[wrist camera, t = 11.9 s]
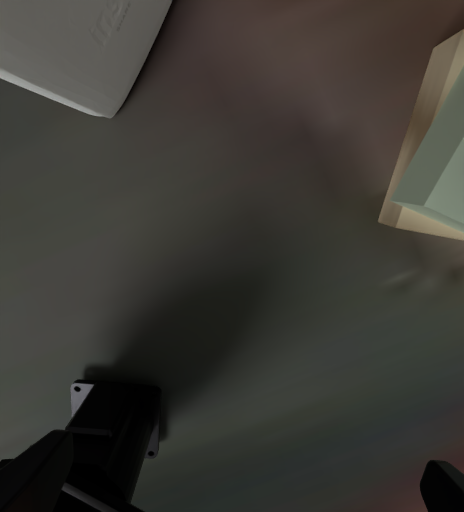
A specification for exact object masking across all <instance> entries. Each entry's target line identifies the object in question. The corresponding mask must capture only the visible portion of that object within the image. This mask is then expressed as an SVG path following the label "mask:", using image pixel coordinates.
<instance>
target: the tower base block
mask: <svg viewBox="0 0 464 512" xmlns="http://www.w3.org/2000/svg"><path fill="white" fill-rule="evenodd" d="M463 66H464V29H463V30H461V31H460V32H458V33H456V34H455V35H453V36H452V37H450V38H448V39H447V40H445V41H444V42H442V43H440V44H439V45H437V46H436V47H434V48H433V51H432V54H431V57H430V60H429V63H428V66H427V70H426V73H425V76H424V79H423V82H422V85H421V88H420V91H419V95H418V98H417V101H416V104H415V107H414V110H413V113H412V116H411V120H410V123H409V126H408V129H407V132H406V135H405V138H404V141H403V144H402V148H401V151H400V154H399V157H398V160H397V163H396V166H395V169H394V173H393V176H392V179H391V182H390V185H389V188H388V191H387V194H386V197H385V201H384V204H383V207H382V210H381V213H380V216H379V219H378V222H379V223H382V224H386V225H389V226H392V227H395V228H400V229H405V230H410V231H416V232H421V233H427V234H432V235H437V236H443V237H448V238H453V239H459V240H464V233H463V232H460V231H458V230H456V229H453V228H451V227H449V226H447V225H444V224H442V223H440V222H437V221H435V220H433V219H431V218H428V217H426V216H424V215H421V214H419V213H417V212H415V211H412V210H410V209H408V208H406V207H403V206H401V205H399V204H396V203H394V202H392V201H390V199H391V197H392V195H393V193H394V192H395V190H396V188H397V186H398V184H399V182H400V181H401V179H402V177H403V175H404V173H405V171H406V170H407V168H408V166H409V164H410V162H411V160H412V159H413V157H414V155H415V153H416V151H417V149H418V148H419V146H420V144H421V142H422V140H423V138H424V137H425V135H426V133H427V131H428V129H429V127H430V126H431V124H432V123H433V121H434V119H435V117H436V115H437V113H438V112H439V110H440V108H441V106H442V104H443V102H444V101H445V99H446V97H447V95H448V93H449V92H450V90H451V88H452V86H453V84H454V82H455V81H456V79H457V77H458V75H459V73H460V71H461V70H462V68H463Z"/></svg>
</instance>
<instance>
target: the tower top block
mask: <svg viewBox="0 0 464 512" xmlns="http://www.w3.org/2000/svg"><path fill="white" fill-rule="evenodd" d="M390 201H392V202H394V203H396V204H399V205H401V206H403V207H406V208H408V209H410V210H412V211H415V212H417V213H419V214H421V215H424V216H426V217H428V218H431V219H433V220H435V221H437V222H440V223H442V224H444V225H447V226H449V227H451V228H453V229H456V230H458V231H460V232H463V233H464V66H463V68H462V70H461V71H460V73H459V75H458V77H457V79H456V81H455V82H454V84H453V86H452V88H451V90H450V92H449V93H448V95H447V97H446V99H445V101H444V102H443V104H442V106H441V108H440V110H439V112H438V113H437V115H436V117H435V119H434V121H433V123H432V124H431V126H430V127H429V129H428V131H427V133H426V135H425V137H424V138H423V140H422V142H421V144H420V146H419V148H418V149H417V151H416V153H415V155H414V157H413V159H412V160H411V162H410V164H409V166H408V168H407V170H406V171H405V173H404V175H403V177H402V179H401V181H400V182H399V184H398V186H397V188H396V190H395V192H394V193H393V195H392V197H391V199H390Z"/></svg>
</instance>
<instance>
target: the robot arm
mask: <svg viewBox="0 0 464 512" xmlns="http://www.w3.org/2000/svg"><path fill="white" fill-rule="evenodd" d="M77 386H79V387H80V388H79V387H77ZM153 393H156V394H153ZM71 406H72V419H71V420H70V422H69V423H68V425H67V426H66V428H65V430H53V431H51V432H50V433H48V434H47V435H46V436H44V437H43V438H41V439H40V440H39V441H37V442H36V443H35V444H33V445H32V446H30V447H29V448H28V449H27V450H25V451H24V452H23V453H21V454H20V455H19V456H17V457H16V458H15V459H4V460H1V461H0V512H144V511H143V510H141V509H139V508H137V507H135V506H134V505H132V504H130V503H131V500H132V496H133V493H134V490H135V487H136V483H137V480H138V477H139V474H140V470H141V467H142V464H143V461H144V458H150V459H151V458H155V457H156V456H157V454H158V450H159V433H160V413H161V389H160V388H159V387H157V386H150V385H139V384H127V383H116V382H104V381H93V380H81V379H79V380H76V381H75V382H74V383H73V384H72V386H71ZM420 491H421V495H422V497H423V500H424V502H425V505H426V507H427V510H428V512H464V474H463V473H462V472H460V471H459V470H458V469H456V468H455V467H454V466H453V465H451V464H450V463H448V462H446V461H439V460H430V461H429V462H428V463H427V465H426V468H425V471H424V473H423V476H422V479H421V481H420Z"/></svg>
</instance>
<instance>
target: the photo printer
mask: <svg viewBox="0 0 464 512" xmlns="http://www.w3.org/2000/svg"><path fill="white" fill-rule="evenodd" d="M171 3H172V0H0V78H2V79H4V80H6V81H9V82H11V83H14V84H16V85H18V86H21V87H23V88H26V89H28V90H31V91H33V92H36V93H38V94H41V95H43V96H45V97H48V98H50V99H52V100H55V101H57V102H60V103H62V104H65V105H67V106H70V107H72V108H75V109H77V110H80V111H82V112H85V113H87V114H90V115H94V116H104V117H107V118H112V117H113V116H114V115H115V114H116V112H117V111H118V110H119V108H120V107H121V106H122V104H123V102H124V101H125V99H126V97H127V95H128V93H129V92H130V90H131V88H132V86H133V84H134V82H135V80H136V78H137V76H138V74H139V72H140V70H141V68H142V66H143V64H144V62H145V60H146V58H147V56H148V54H149V51H150V49H151V47H152V45H153V43H154V41H155V38H156V36H157V34H158V32H159V30H160V28H161V25H162V23H163V21H164V19H165V16H166V14H167V12H168V9H169V7H170V5H171Z"/></svg>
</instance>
